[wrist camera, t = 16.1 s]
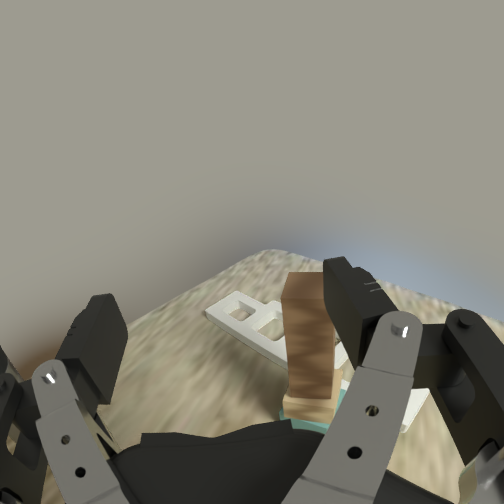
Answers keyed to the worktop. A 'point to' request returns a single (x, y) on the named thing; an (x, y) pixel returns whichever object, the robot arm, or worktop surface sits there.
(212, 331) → the worktop surface
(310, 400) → the tower mid
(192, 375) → the worktop surface
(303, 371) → the walnut column
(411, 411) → the holder
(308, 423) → the tower base
